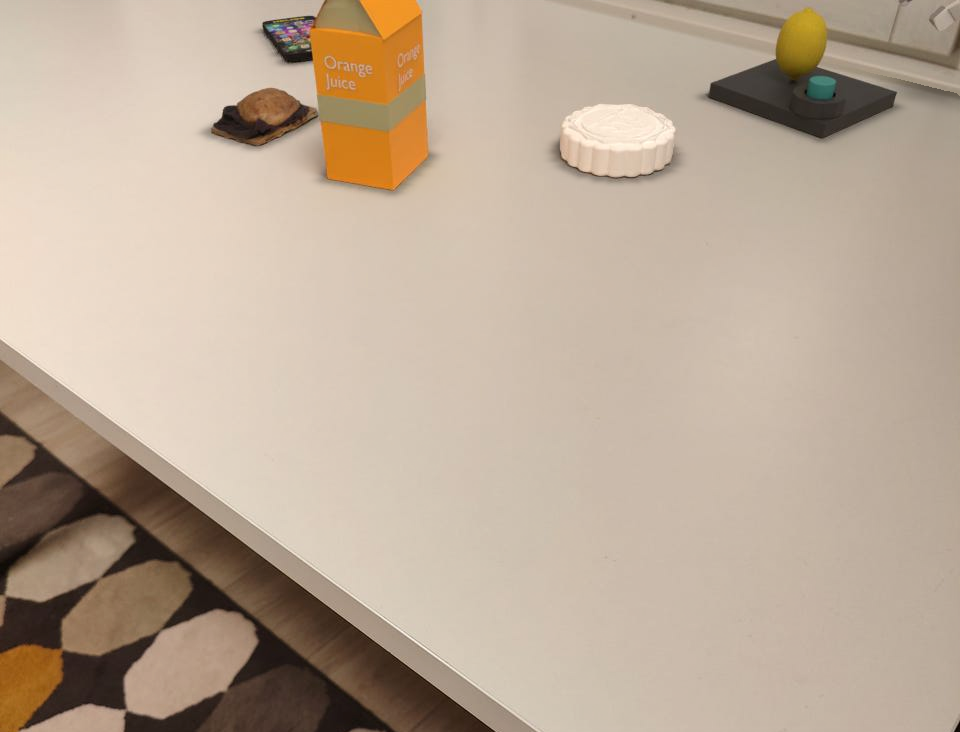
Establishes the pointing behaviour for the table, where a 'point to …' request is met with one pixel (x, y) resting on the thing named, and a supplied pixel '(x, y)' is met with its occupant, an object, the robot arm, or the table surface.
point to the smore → (262, 117)
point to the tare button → (821, 87)
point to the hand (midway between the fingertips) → (914, 13)
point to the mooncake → (617, 140)
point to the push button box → (801, 98)
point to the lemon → (801, 43)
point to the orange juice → (370, 89)
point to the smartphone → (291, 36)
